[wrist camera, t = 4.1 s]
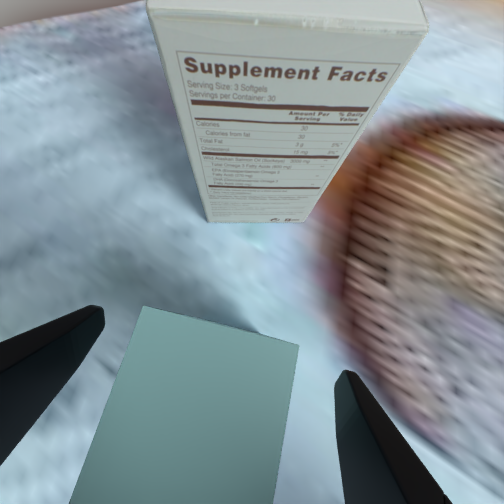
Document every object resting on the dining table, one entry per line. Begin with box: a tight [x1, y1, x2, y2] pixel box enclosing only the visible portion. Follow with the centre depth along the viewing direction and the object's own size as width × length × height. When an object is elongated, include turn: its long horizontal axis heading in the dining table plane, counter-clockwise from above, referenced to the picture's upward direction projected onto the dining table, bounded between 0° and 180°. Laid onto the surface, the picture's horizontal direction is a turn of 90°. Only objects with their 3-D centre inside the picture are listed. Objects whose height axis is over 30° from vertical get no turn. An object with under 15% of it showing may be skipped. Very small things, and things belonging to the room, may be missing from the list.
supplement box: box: [146, 0, 429, 223], centre depth 13 cm, size 7×7×13 cm
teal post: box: [69, 306, 299, 504], centre depth 10 cm, size 4×4×10 cm
